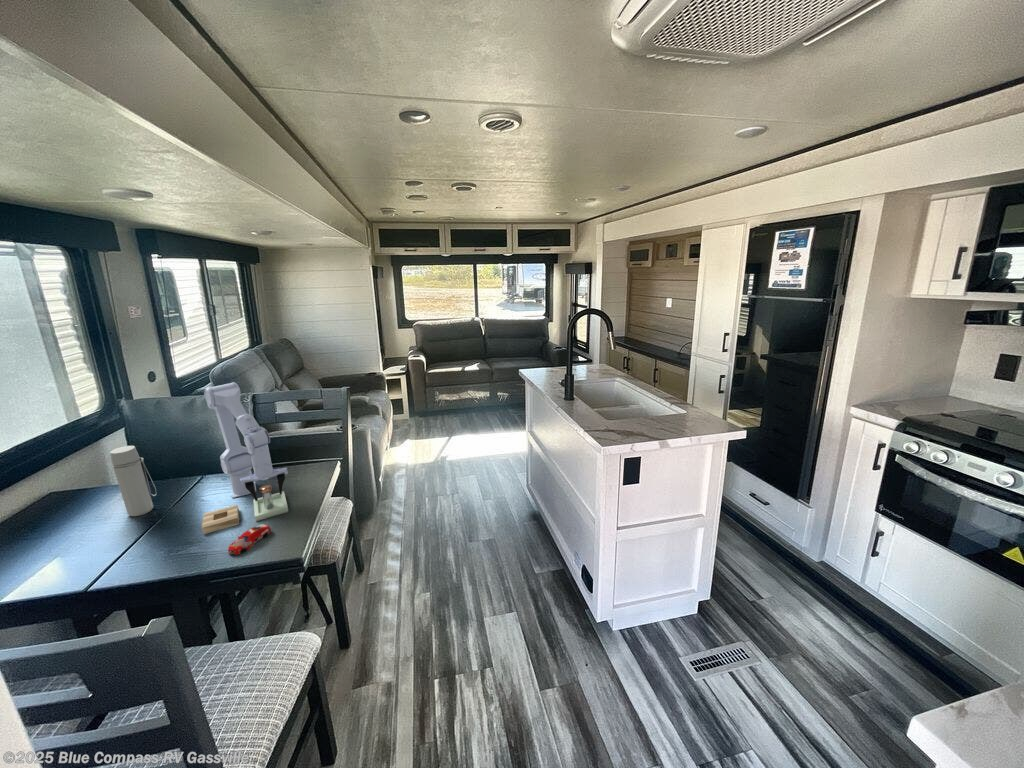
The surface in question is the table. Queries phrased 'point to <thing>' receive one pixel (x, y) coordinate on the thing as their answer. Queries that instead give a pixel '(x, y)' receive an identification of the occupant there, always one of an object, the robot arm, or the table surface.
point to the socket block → (220, 519)
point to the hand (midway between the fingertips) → (268, 496)
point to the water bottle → (132, 480)
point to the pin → (267, 496)
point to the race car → (249, 539)
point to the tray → (278, 508)
